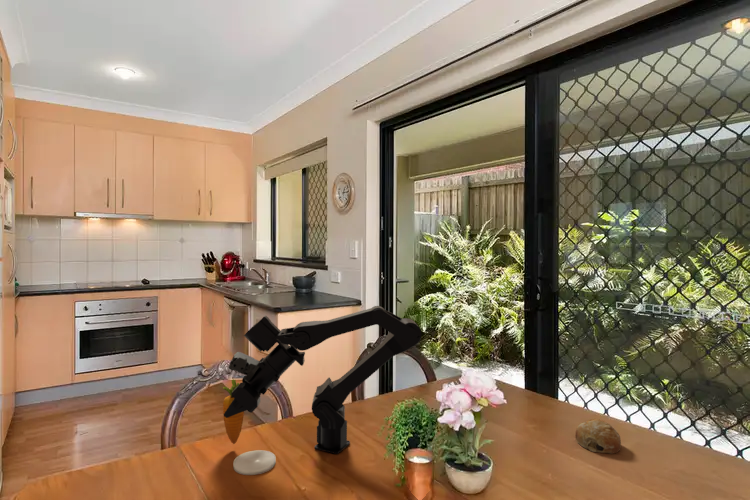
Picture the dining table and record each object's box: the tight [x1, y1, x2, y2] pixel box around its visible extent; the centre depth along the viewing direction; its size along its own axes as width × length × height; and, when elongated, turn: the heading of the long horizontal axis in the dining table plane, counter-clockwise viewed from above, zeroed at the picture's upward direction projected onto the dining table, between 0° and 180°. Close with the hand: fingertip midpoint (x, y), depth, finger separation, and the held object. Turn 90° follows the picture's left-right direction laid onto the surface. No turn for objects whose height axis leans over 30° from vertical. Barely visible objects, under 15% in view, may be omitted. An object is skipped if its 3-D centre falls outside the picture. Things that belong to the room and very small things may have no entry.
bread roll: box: [574, 418, 622, 455], centre depth 109 cm, size 10×10×8 cm
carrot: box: [222, 378, 245, 445], centre depth 105 cm, size 5×5×15 cm
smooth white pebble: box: [232, 449, 277, 476], centre depth 98 cm, size 9×9×1 cm
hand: (227, 412), depth 105 cm, fingers closed on carrot, 5 cm apart
